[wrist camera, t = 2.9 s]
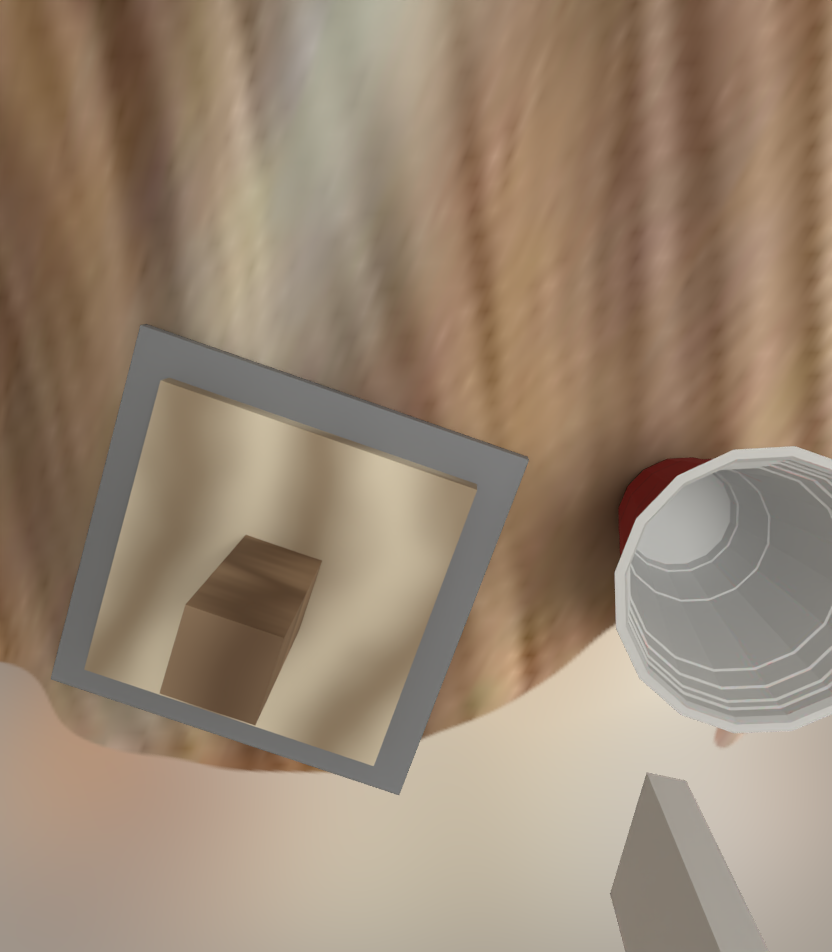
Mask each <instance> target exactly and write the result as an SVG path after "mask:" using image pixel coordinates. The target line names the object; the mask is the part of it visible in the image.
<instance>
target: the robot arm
mask: <svg viewBox="0 0 832 952" xmlns="http://www.w3.org/2000/svg"><path fill="white" fill-rule="evenodd" d="M610 895H611V899H612V903H613V906H614V910H615V914H616V918H617V922H618V925H619V929H620V933H621V936H622V940H623V944H624V948H625V951H626V952H769V950H768V948H767V946H766V944H765V942H764V940H763V938H762V935H761V933H760V932H759V929H758V927H757V925H756V923H755V921H754V919H753V917H752V915H751V913H750V911H749V909H748V907H747V905H746V903H745V901H744V899H743V896H742V895H741V893H740V890H739V889H738V886H737V884H736V882H735V880H734V878H733V876H732V874H731V872H730V870H729V868H728V866H727V864H726V862H725V860H724V857H723V855H722V853H721V851H720V849H719V847H718V845H717V843H716V841H715V839H714V837H713V835H712V833H711V831H710V829H709V827H708V825H707V823H706V820H705V818H704V816H703V814H702V812H701V810H700V808H699V806H698V804H697V802H696V800H695V798H694V796H693V794H692V792H691V790H690V788H689V786H688V783H687V782H686V781H685V780H680V779H676V778H671V777H666V776H661V775H657V774H652V773H647V774H646V777H645V780H644V784H643V787H642V790H641V793H640V797H639V800H638V803H637V807H636V810H635V813H634V816H633V820H632V823H631V826H630V830H629V833H628V837H627V840H626V843H625V846H624V850H623V853H622V856H621V860H620V863H619V866H618V870H617V873H616V876H615V879H614V883H613V886H612V889H611V893H610Z"/></svg>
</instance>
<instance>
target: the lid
mask: <svg viewBox="0 0 832 952" xmlns="http://www.w3.org/2000/svg"><path fill="white" fill-rule="evenodd" d="M476 492H477V484H475V483H472V482H469V481H467V480H464V479H461V478H458V477H455V476H452V475H449V474H446V473H443V472H441V471H438V470H435V469H432V468H429V467H426V466H423V465H420V464H417V463H415V462H412V461H409V460H406V459H403V458H400V457H397V456H394V455H391V454H389V453H386V452H383V451H380V450H377V449H374V448H371V447H368V446H365V445H363V444H360V443H357V442H354V441H351V440H348V439H345V438H342V437H340V436H337V435H334V434H331V433H328V432H325V431H322V430H319V429H316V428H314V427H311V426H308V425H305V424H302V423H299V422H296V421H293V420H290V419H288V418H285V417H282V416H279V415H276V414H273V413H270V412H267V411H264V410H262V409H259V408H256V407H253V406H250V405H247V404H244V403H241V402H238V401H236V400H233V399H230V398H227V397H224V396H221V395H218V394H215V393H212V392H210V391H207V390H204V389H201V388H198V387H195V386H192V385H189V384H187V383H184V382H181V381H178V380H175V379H172V378H167V379H163V380H161V381H160V384H159V388H158V392H157V396H156V400H155V403H154V407H153V411H152V415H151V419H150V422H149V426H148V430H147V434H146V437H145V441H144V445H143V449H142V453H141V456H140V460H139V464H138V468H137V472H136V475H135V479H134V483H133V487H132V490H131V494H130V498H129V502H128V506H127V509H126V513H125V517H124V521H123V525H122V528H121V532H120V536H119V540H118V543H117V547H116V551H115V555H114V559H113V562H112V566H111V570H110V574H109V578H108V581H107V585H106V589H105V593H104V596H103V600H102V604H101V608H100V612H99V615H98V619H97V623H96V627H95V631H94V634H93V638H92V642H91V646H90V649H89V653H88V657H87V661H86V665H85V668H84V670H87V671H90V672H93V673H96V674H99V675H102V676H105V677H108V678H111V679H114V680H117V681H120V682H123V683H126V684H129V685H132V686H135V687H138V688H141V689H144V690H147V691H150V692H153V693H156V694H159V695H162V696H165V697H168V698H171V699H174V700H177V701H180V702H183V703H186V704H189V705H192V706H195V707H198V708H201V709H204V710H207V711H210V712H213V713H216V714H219V715H222V716H225V717H228V718H231V719H234V720H237V721H240V722H243V723H246V724H249V725H252V726H255V727H258V728H261V729H264V730H267V731H270V732H273V733H276V734H279V735H282V736H285V737H288V738H291V739H294V740H297V741H300V742H303V743H306V744H309V745H312V746H315V747H318V748H320V749H323V750H326V751H329V752H332V753H335V754H338V755H341V756H344V757H347V758H350V759H353V760H356V761H359V762H362V763H365V764H368V765H371V766H374V764H375V762H376V759H377V756H378V754H379V751H380V748H381V746H382V743H383V740H384V738H385V735H386V732H387V730H388V727H389V724H390V722H391V719H392V716H393V714H394V711H395V708H396V706H397V703H398V700H399V698H400V695H401V692H402V690H403V687H404V684H405V681H406V679H407V676H408V673H409V671H410V668H411V665H412V663H413V660H414V657H415V655H416V652H417V649H418V647H419V644H420V641H421V639H422V636H423V633H424V631H425V628H426V625H427V623H428V620H429V617H430V615H431V612H432V609H433V607H434V604H435V601H436V599H437V596H438V593H439V591H440V588H441V585H442V583H443V580H444V577H445V575H446V572H447V569H448V567H449V564H450V561H451V559H452V556H453V553H454V551H455V548H456V545H457V543H458V540H459V537H460V535H461V532H462V529H463V527H464V524H465V521H466V519H467V516H468V513H469V511H470V508H471V505H472V503H473V500H474V497H475V495H476Z"/></svg>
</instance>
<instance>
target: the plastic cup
mask: <svg viewBox="0 0 832 952" xmlns="http://www.w3.org/2000/svg"><path fill="white" fill-rule="evenodd" d="M619 536H620V560H619V562H618V565H617V567H616V570H615V607H616V629H617V632H618V634H619V636H620V638H621V640H622V642H623V644H624V647H625V648H626V651H627V653H628V655H629V657H630V660H631V662H632V664H633V666H634V668H635V670H636V672H637V674H638V676H639V678H640V679H641V680H642V681H643V682H644V683H645V684H646V685H647V686H649V687H650V688H651V689H652V690H653V691H655V693H657V694H658V695H659V696H660V697H661V698H662V699H663V700H665V701H666V702H667V703H668V704H669V705H670V706H671V707H672V708H674V709H675V710H676V711H677V712H678V713H679V714H680V715H683V716H686V717H689V718H692V719H694V720H697V721H700V722H703V723H706V724H709V725H712V726H715V727H718V728H720V729H723V730H726V731H729V732H732V733H752V732H777V731H778V732H779V731H793V730H796V729H798V728H800V727H803V726H805V725H808V724H810V723H812V722H815V721H817V720H820V719H821V718H824V717H827V716H829V715H832V459H830V458H827V457H824V456H821V455H818V454H816V453H813V452H810V451H807V450H804V449H801V448H798V447H796V446H792V447H774V448H756V449H737V450H732V451H730V452H728V453H726V454H723V455H721V456H719V457H717V458H715V459H698V458H674V459H666V460H664V461H662V462H660V463H657V464H655V465H653V466H651V467H648V468H646V469H644V470H643V471H642V472H641V473H640V474H639V475H638V476H637V477H636V478H635V479H634V480H633V481H632V482H631V483H630V484H629V485H628V487H627V489H626V492H625V494H624V497H623V499H622V501H621V504H620V506H619Z"/></svg>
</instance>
